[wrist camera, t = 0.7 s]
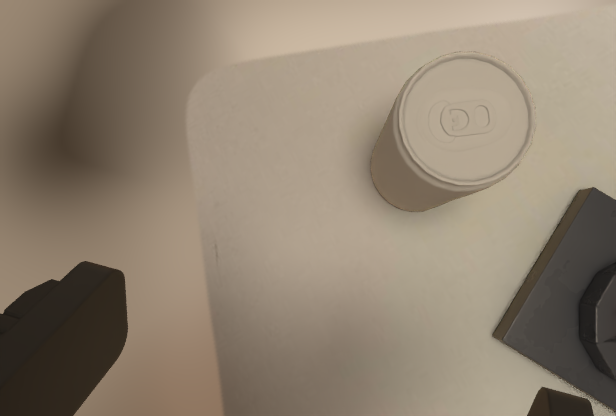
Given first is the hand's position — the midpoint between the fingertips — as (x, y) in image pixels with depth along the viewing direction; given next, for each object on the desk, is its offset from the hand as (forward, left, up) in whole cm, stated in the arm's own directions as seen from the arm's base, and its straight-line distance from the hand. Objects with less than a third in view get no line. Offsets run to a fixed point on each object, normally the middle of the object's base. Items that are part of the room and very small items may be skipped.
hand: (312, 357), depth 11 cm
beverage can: (+1, +8, -20) cm, 22 cm away
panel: (+14, +7, -20) cm, 26 cm away
